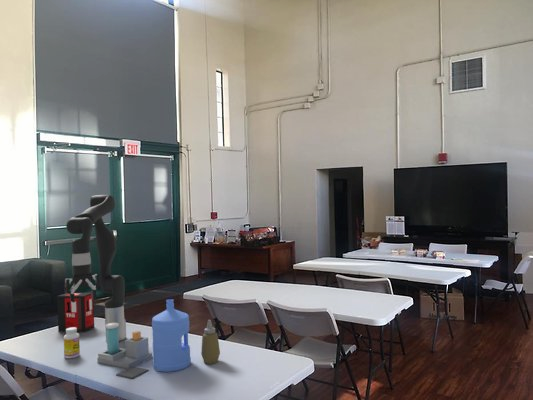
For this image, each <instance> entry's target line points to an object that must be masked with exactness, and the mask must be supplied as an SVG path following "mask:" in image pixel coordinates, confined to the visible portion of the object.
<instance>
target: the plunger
mask: <svg viewBox="0 0 533 400" xmlns="http://www.w3.org/2000/svg"><path fill="white" fill-rule="evenodd" d="M131 335H132V337H131V338H133V341H139V340H141V337H142V332H141V331H140V330H138V331H132V333H131Z"/></svg>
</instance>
